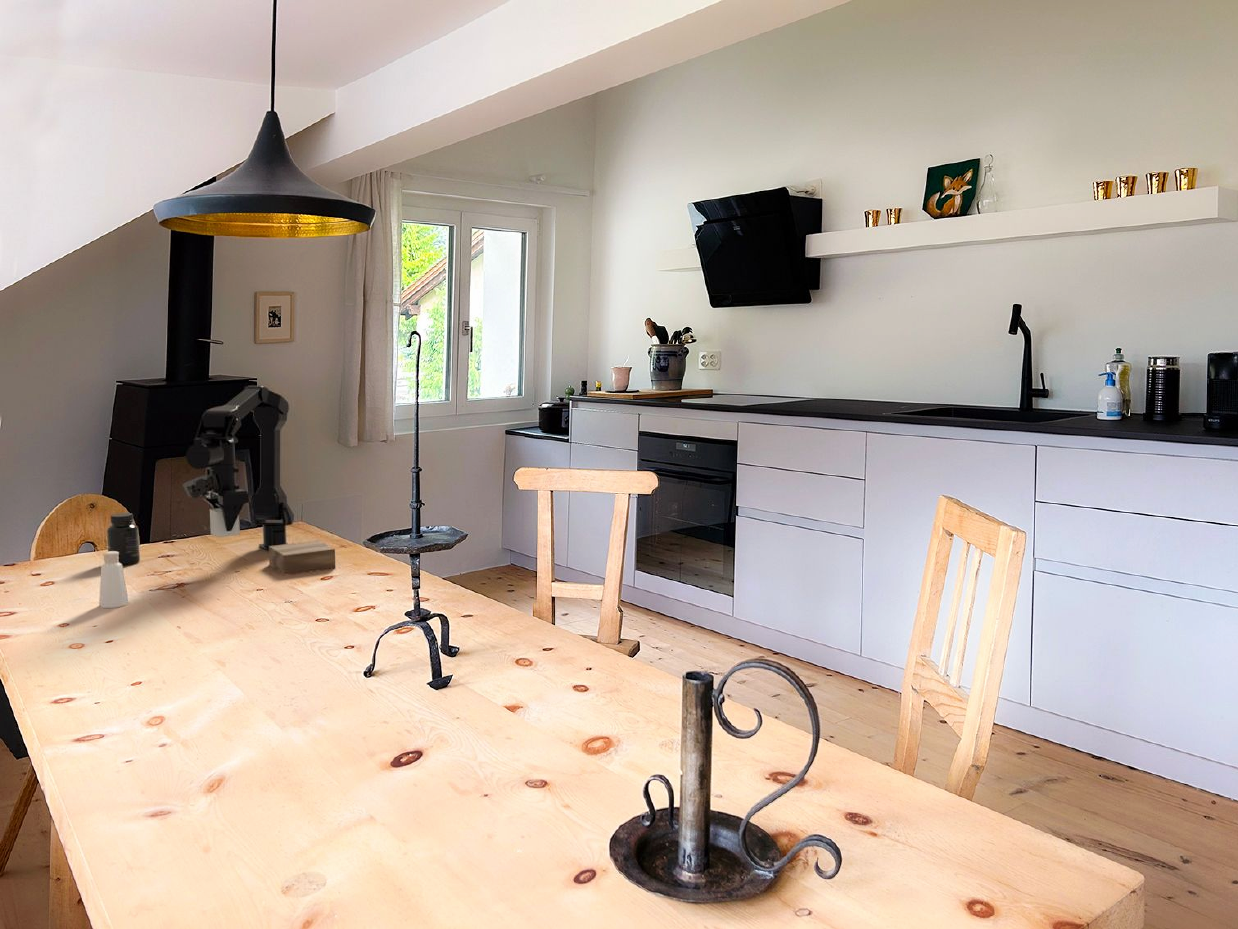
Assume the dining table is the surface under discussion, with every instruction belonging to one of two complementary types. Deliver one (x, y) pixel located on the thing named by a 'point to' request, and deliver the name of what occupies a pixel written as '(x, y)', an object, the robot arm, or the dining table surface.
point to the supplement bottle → (124, 538)
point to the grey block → (221, 524)
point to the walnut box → (301, 557)
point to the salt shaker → (112, 582)
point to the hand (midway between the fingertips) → (225, 529)
